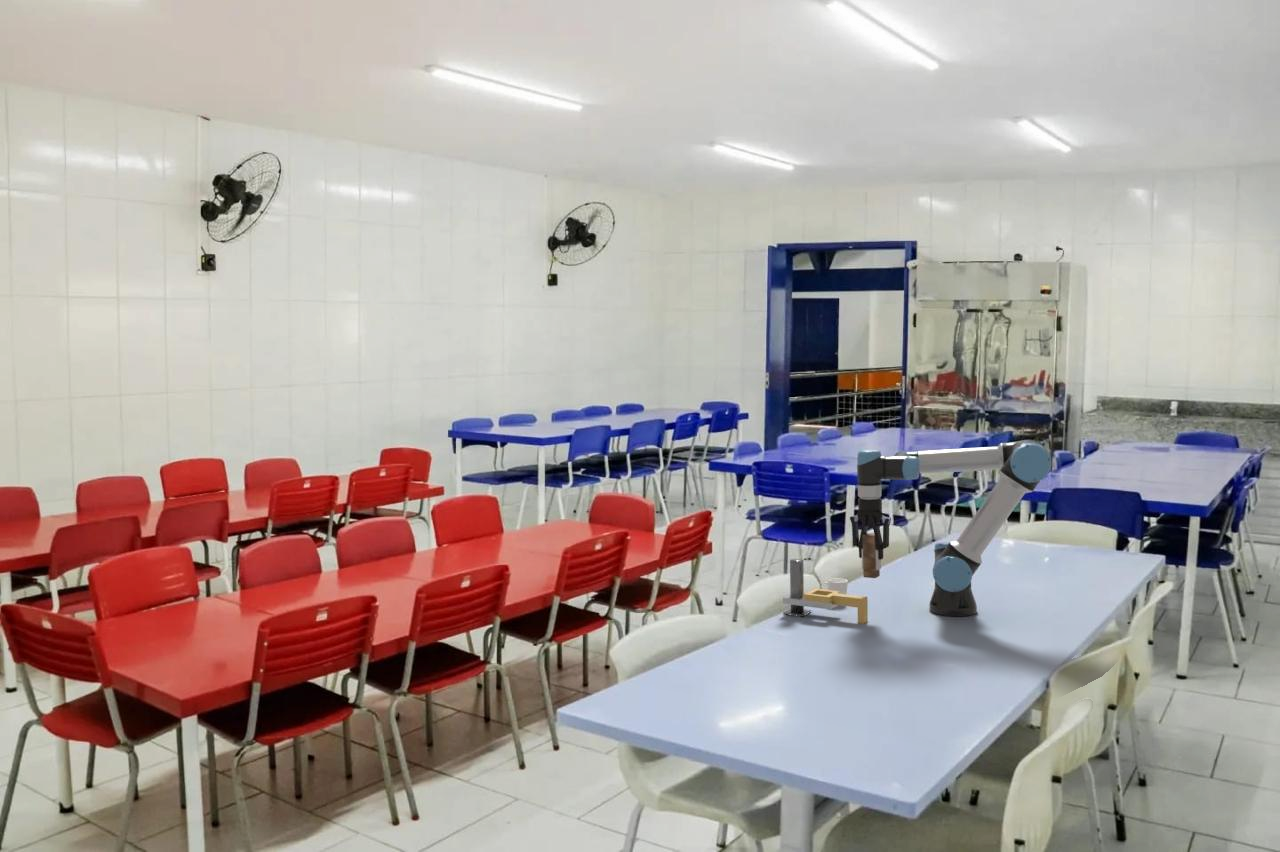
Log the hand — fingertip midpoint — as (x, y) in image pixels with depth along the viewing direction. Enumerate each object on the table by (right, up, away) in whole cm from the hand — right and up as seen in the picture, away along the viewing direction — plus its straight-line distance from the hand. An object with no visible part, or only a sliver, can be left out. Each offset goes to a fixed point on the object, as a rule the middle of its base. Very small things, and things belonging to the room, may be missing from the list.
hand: (871, 568), depth 345 cm
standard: (-19, -16, +5) cm, 25 cm away
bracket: (-11, -16, 0) cm, 20 cm away
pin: (0, -3, 0) cm, 3 cm away
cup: (-8, -15, +21) cm, 27 cm away
